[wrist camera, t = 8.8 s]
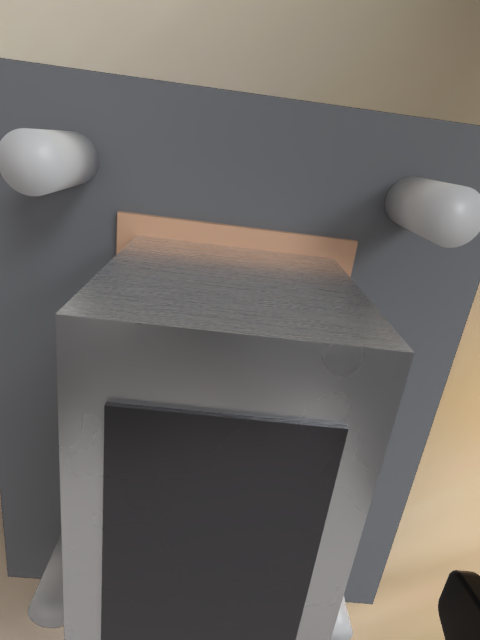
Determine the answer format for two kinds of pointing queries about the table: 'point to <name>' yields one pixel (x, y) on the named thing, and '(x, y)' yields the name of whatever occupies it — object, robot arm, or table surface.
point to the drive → (218, 441)
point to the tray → (220, 229)
